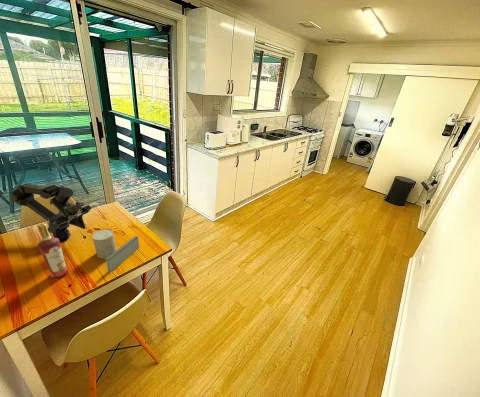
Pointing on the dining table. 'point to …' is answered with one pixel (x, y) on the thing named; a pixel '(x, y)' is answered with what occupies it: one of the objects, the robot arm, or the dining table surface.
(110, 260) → the grey rectangular panel
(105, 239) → the grey stubby cylinder
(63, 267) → the liquor
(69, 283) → the dining table surface
